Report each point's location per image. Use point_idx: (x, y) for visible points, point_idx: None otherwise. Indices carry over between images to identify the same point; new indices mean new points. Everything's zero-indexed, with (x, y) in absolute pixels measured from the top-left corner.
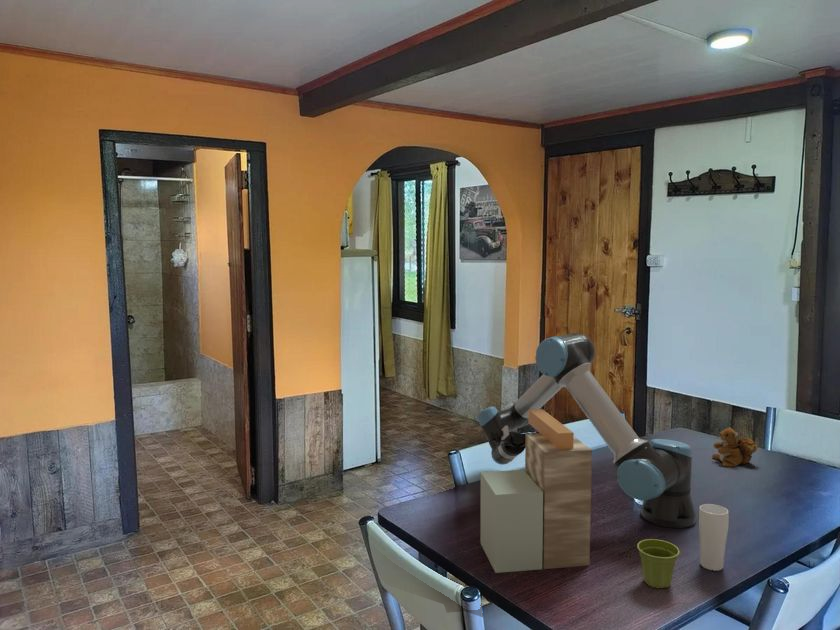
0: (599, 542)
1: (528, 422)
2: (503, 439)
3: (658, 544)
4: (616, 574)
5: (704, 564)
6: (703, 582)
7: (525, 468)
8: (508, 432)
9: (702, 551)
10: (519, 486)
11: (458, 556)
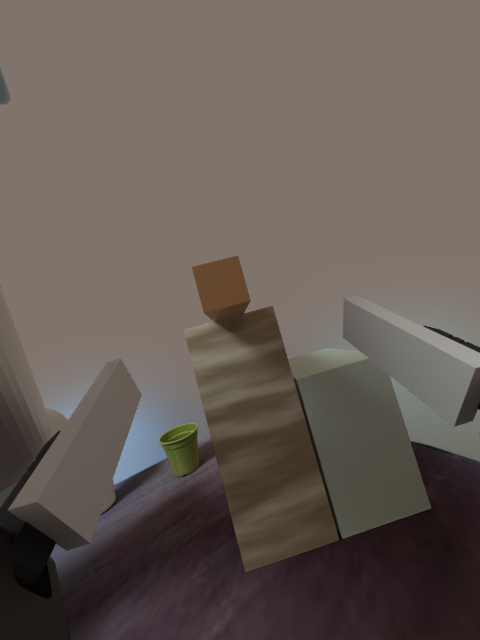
0: (189, 555)
1: (249, 298)
2: (449, 417)
3: (166, 446)
4: (217, 471)
5: (114, 495)
6: (144, 477)
7: (292, 376)
8: (344, 328)
9: (111, 482)
10: (301, 359)
11: (436, 461)
